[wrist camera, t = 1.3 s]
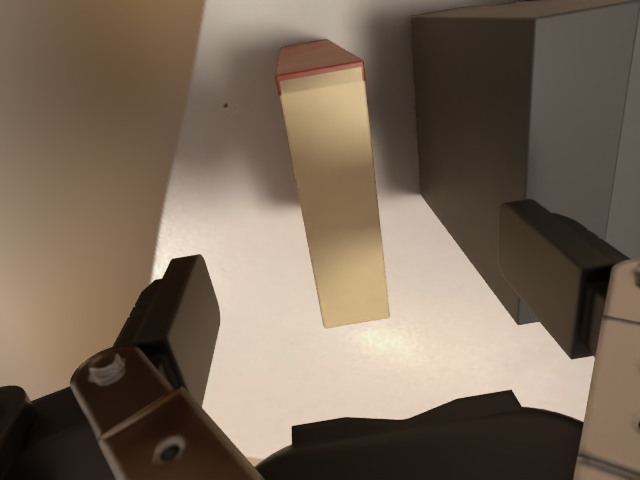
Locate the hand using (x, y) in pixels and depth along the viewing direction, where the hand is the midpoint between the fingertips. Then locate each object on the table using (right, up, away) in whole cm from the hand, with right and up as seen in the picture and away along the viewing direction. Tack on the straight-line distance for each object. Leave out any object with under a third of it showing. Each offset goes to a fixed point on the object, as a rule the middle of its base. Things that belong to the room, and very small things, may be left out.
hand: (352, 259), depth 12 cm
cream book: (-1, +7, +13) cm, 15 cm away
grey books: (+9, +8, +13) cm, 18 cm away
